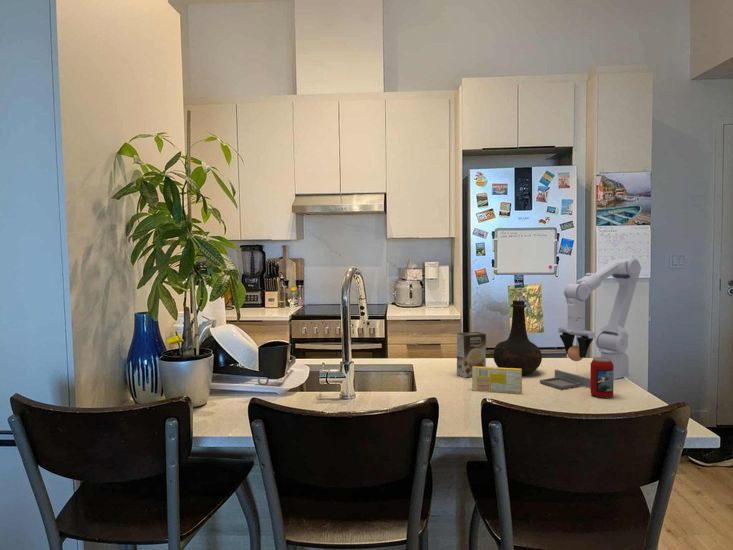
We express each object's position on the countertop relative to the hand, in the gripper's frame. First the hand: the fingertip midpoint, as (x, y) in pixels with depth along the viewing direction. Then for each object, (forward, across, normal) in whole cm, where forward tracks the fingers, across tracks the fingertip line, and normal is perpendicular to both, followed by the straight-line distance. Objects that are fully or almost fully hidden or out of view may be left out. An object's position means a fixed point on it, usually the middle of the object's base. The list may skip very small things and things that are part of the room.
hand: (575, 355), depth 184 cm
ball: (-1, 0, 0) cm, 1 cm away
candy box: (+10, -4, -32) cm, 34 cm away
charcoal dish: (+10, 0, -7) cm, 12 cm away
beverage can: (+10, +16, -6) cm, 20 cm away
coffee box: (+10, -26, -26) cm, 38 cm away
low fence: (+10, 0, -1) cm, 10 cm away
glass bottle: (+10, -21, -8) cm, 24 cm away
